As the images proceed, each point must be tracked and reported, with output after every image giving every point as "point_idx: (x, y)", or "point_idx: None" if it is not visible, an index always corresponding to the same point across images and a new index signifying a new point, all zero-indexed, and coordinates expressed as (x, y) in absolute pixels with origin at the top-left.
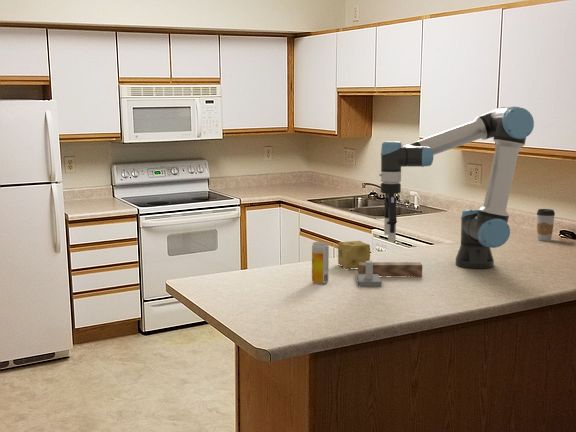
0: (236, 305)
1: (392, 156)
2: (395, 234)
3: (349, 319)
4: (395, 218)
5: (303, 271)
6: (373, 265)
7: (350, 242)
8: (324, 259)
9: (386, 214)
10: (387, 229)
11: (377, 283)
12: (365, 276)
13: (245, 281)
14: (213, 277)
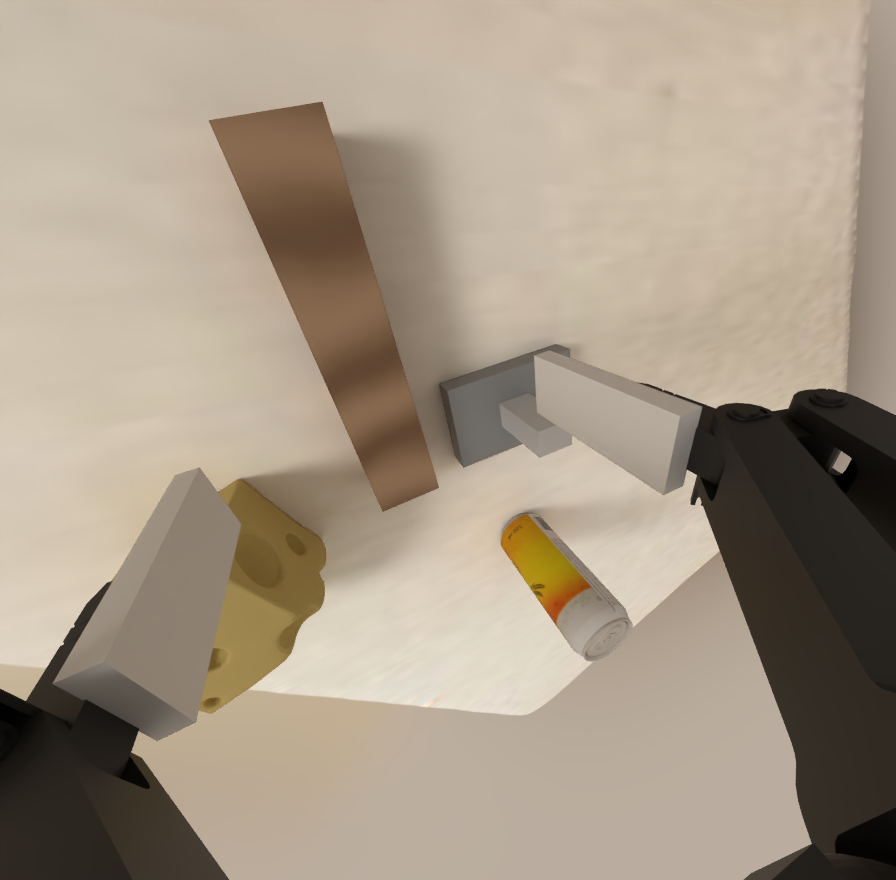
0: (669, 565)
1: None
2: (594, 368)
3: (790, 361)
4: (890, 431)
5: (394, 623)
6: (422, 433)
7: None
8: (589, 570)
9: (163, 809)
10: (211, 543)
11: None
12: (502, 426)
13: (522, 646)
14: (499, 696)
